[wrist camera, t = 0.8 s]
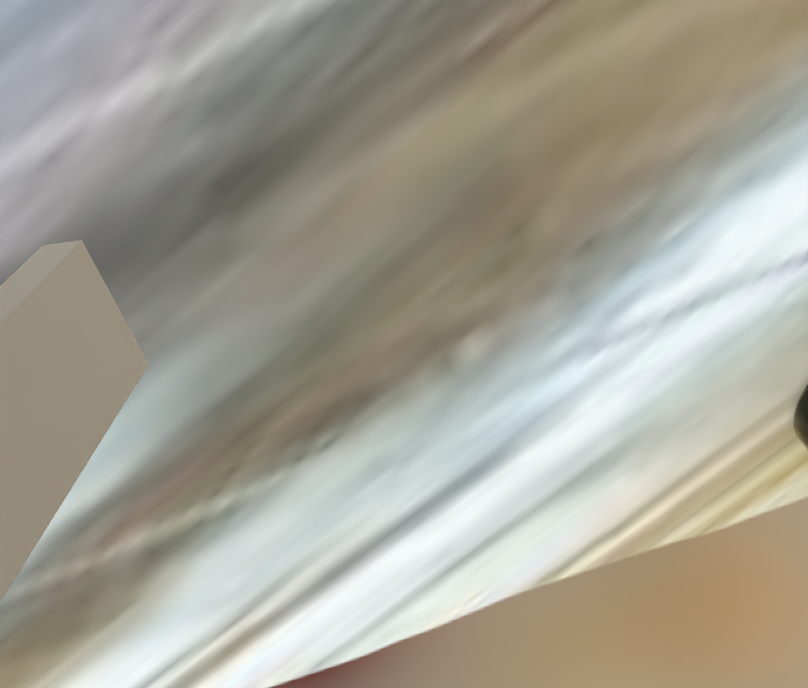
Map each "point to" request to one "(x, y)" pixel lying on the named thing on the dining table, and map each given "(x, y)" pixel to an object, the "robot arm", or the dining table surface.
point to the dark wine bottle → (802, 419)
